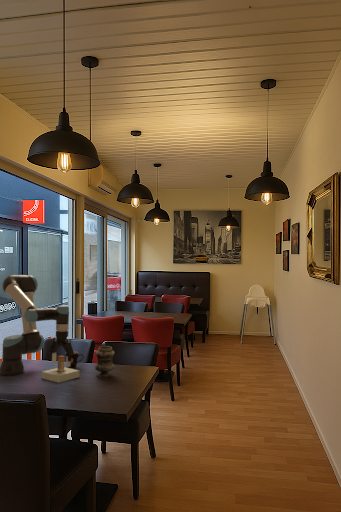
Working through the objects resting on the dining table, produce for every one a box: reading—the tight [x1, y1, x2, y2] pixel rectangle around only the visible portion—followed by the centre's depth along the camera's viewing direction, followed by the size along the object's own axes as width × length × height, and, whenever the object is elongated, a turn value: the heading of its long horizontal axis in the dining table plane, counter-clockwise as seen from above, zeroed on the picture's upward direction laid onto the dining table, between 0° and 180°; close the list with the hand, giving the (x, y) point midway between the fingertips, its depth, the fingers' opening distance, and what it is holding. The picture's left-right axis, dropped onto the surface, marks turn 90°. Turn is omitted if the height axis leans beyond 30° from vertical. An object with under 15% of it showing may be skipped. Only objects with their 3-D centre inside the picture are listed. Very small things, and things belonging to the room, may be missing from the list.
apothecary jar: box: [94, 345, 115, 379], centre depth 238 cm, size 12×12×18 cm
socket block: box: [41, 366, 80, 384], centre depth 231 cm, size 16×16×4 cm
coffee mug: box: [65, 350, 85, 369], centre depth 257 cm, size 12×9×10 cm
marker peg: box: [57, 355, 66, 373], centre depth 232 cm, size 4×4×13 cm
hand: (60, 365), depth 232 cm, fingers open, 13 cm apart
